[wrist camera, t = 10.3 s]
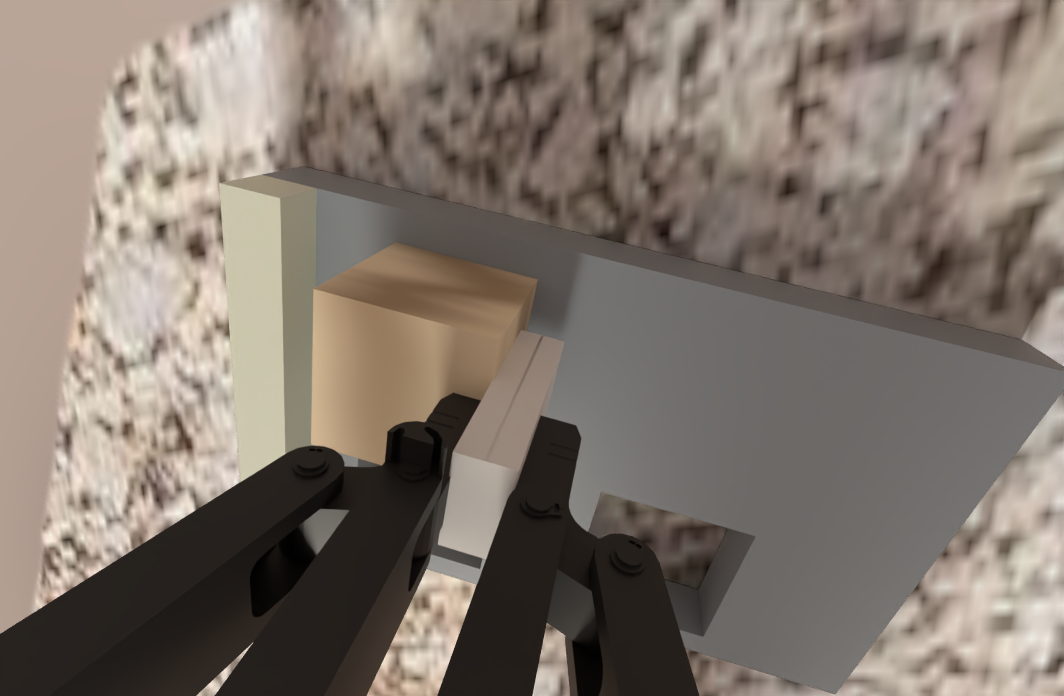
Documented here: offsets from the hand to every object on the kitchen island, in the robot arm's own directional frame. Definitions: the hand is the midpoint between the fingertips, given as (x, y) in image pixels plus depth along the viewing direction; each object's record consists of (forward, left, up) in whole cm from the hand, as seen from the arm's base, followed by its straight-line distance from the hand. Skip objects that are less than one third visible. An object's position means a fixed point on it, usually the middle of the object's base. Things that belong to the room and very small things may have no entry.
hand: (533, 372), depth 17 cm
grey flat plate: (-2, +4, -4) cm, 6 cm away
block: (+3, 0, -2) cm, 4 cm away
